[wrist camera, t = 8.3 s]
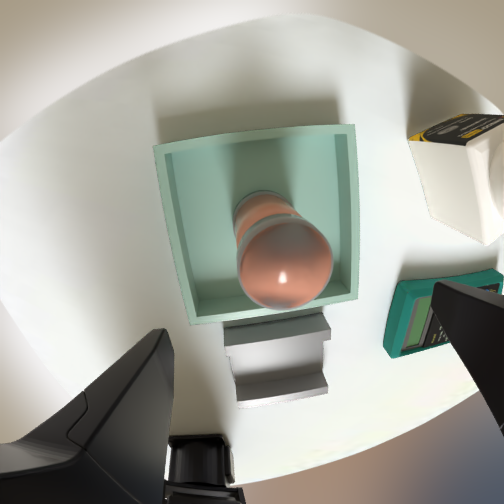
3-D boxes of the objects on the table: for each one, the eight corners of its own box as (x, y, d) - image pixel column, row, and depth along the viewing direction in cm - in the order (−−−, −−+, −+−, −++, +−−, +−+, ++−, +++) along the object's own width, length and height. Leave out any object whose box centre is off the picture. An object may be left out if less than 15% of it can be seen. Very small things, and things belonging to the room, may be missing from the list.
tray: (193, 306, 22) (190, 325, 20) (161, 145, 18) (152, 145, 16) (345, 283, 23) (357, 298, 21) (340, 125, 19) (354, 124, 16)
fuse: (236, 254, 21) (244, 316, 13) (228, 194, 19) (230, 227, 12) (296, 245, 21) (333, 302, 14) (291, 186, 20) (332, 214, 12)
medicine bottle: (461, 112, 19) (574, 121, 7) (480, 187, 21) (581, 225, 10) (404, 138, 19) (533, 155, 8) (429, 219, 22) (537, 279, 10)
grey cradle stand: (237, 389, 26) (238, 408, 24) (223, 328, 23) (224, 346, 21) (320, 375, 26) (327, 393, 24) (322, 312, 24) (331, 329, 21)
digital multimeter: (477, 321, 27) (491, 334, 25) (378, 345, 26) (390, 364, 24) (494, 265, 25) (511, 276, 22) (392, 278, 24) (409, 293, 21)
